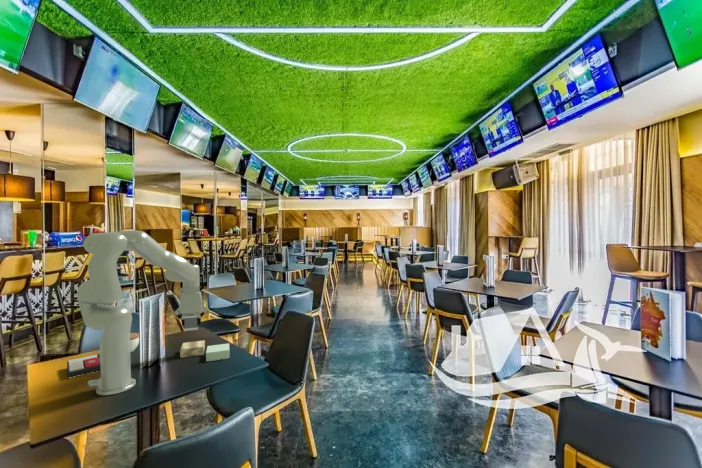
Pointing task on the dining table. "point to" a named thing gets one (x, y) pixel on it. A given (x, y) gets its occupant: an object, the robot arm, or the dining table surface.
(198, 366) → the dining table surface
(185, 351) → the stand
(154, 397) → the dining table surface
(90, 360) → the red and grey box
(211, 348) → the stand
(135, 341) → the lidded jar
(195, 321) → the block
